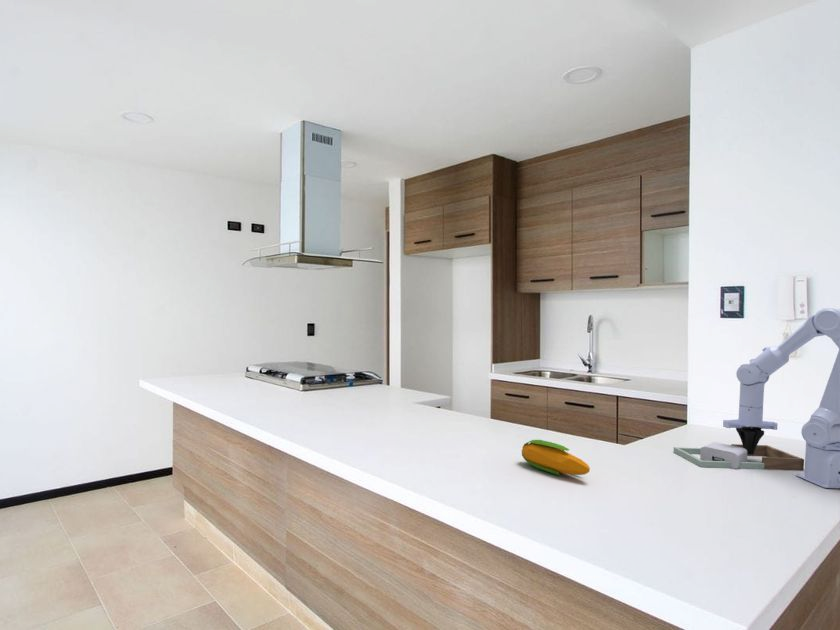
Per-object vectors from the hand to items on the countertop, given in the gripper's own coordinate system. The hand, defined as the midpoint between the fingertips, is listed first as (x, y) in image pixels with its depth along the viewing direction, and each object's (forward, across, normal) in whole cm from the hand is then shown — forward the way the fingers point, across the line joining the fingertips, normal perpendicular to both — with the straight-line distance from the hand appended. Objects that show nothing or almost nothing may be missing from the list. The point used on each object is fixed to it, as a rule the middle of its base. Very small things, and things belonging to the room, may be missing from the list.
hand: (748, 453), depth 144 cm
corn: (+3, +60, +15) cm, 62 cm away
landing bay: (+2, +9, 0) cm, 9 cm away
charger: (+3, +6, 0) cm, 7 cm away
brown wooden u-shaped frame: (+2, -5, 0) cm, 5 cm away
